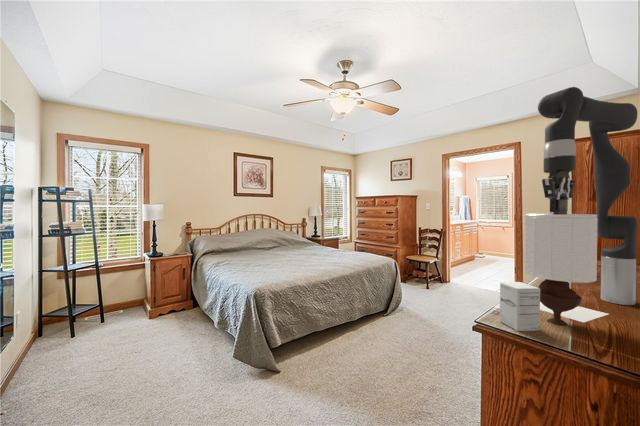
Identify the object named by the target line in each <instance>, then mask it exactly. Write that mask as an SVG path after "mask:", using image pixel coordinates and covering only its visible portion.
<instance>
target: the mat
mask: <svg viewBox="0 0 640 426" xmlns="http://www.w3.org/2000/svg"><path fill="white" fill-rule="evenodd" d="M540 311H542V312H545V313H550V314H553V315H554V313H553V310H551V309H549V308H547V307H546V306H544V305H543V304H542V303H541V302H540ZM608 315H610V313H607V312H602V311H598V310H594V309H590V308H587V307H583V306H580V305H579V306H578V307H576V308H574V309H572V310H569V311H566V312H562V313H561V317H563V318H566V319H570V320H573V321H577V322H579V323H580V322H581V323H583V324H584V323H588V322H590V321H594V320H596V319H599V318H602V317H605V316H608Z"/></svg>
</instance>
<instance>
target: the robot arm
mask: <svg viewBox="0 0 640 426" xmlns="http://www.w3.org/2000/svg"><path fill="white" fill-rule="evenodd" d="M537 111H538V113H539V115H541V116H542V117H544V118H547V119H552V120H553V119H555V121H554V122H552V123H549V124H547V125H546V126H545V128H544V146H543V147H544V148H543V173H545V174H548V175H547V178H542V180H541V182H542V188H543V195H544V198H545V199H548V201H549V212H559V206H560V199H567V212H568V208H569V207H568V206H569V205H568V203H569V202H568V201H569V200H570V199H572V198H573V195H574V189H575V184H576V180H575V179H571V178H570V172H574V171H576V165H577V164H576V160H577V159H576V157H577V156H576V153H577V152H576V150H577V147H576V138H575V137H576V136H575V135H576V131H575V130H576V124H577V122H588V129H589V136H590V140H591V145H592V151H593V166H594V167H593V171H594V172H593V174H594V175H593V176H594V185H595V186H594V187H595V196H596V215H597V237H599V238H600V239H603V240H604V239H605V240H606V239H607V240H621V241H623V242H622V243H621V244H619V245H615V246H611V247H605V248H602V249H601V251H600V253H601V255H600V259H601V261H600V263H601V267H600V268H601V269H600V270H601V271H600V299H601V300H602V301H604V302H608V303H612V304H616V305H624V306H635V305H636V293H637V291H636V290H637V289H636V285H637V241H638V239H637V237H638V230H639V225H638V222H639V221H638V219H637V218H636V216H632V215H609V211H610V209H611V208H612V207H613V205H614V203H616V201H617V200H618V199H619V198H620V197H621V196H622V194H624V192H625V191H626V190H627V189H628V188H629V187H630V185H631V166H630V164H629V162H628V160H627V159H626V158H625V157H624V156H623V155H622V154H621V153H620V152H619V151H618V150H616V149H615V147H614V146H613V144H612V143H611V141H610V138H609V133H615V132H622V131H623V132H624V131H626V130H629V129H631V128H632V127H634V125H635V124H636V122H637V118H638V108H637V106H635V105H634V104H632V103H630V102H626V103H625V102H610V101H609V102H608V101H603V100H599V99H594V98H591V97H587V96H584V93H583V91H582V90H581V89H580V88H579V87H576V86H570V87H567V88H564V89H561V90H558V91H555V92H552V93H550V94H547V95H545V96H543V97H542V98H541V99H540V100H539V102H538V104H537ZM556 119H557V120H556Z"/></svg>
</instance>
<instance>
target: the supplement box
mask: <svg viewBox="0 0 640 426" xmlns="http://www.w3.org/2000/svg"><path fill="white" fill-rule="evenodd" d="M540 313H541V310H540V288H538V286H537V287H536V286H534V285H531V284H528V283H525V282H522V281H507V282H505V281H504V282H502V281H501V282H500V283H499V322H500V323H503V325H506V326H507V327H509V328H511V329H513V330H515V331H516V332H531V331H532V332H533V331H534V332H535V331H540V316H541V315H540Z"/></svg>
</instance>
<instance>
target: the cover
mask: <svg viewBox="0 0 640 426" xmlns="http://www.w3.org/2000/svg"><path fill="white" fill-rule="evenodd" d="M549 212H550V211H549ZM523 217H524V274H525V275H528V276H532V277H533V278H534V277H535V278H538V279H543V280H545V279H549V280H556V281H565V282H568V283H580V284H581V283H584V284H585V283H586V284H587V283H588V284H589V283H594V282H597V281H598V279H597V277H598V276H597V275H598V273H597V272H598V271H597V270H598V267H597V266H598V234H597V213H596V214H593V213H591V214H590V213H568V211H567V199H560V206H559V212H550V213H524V216H523Z"/></svg>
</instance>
